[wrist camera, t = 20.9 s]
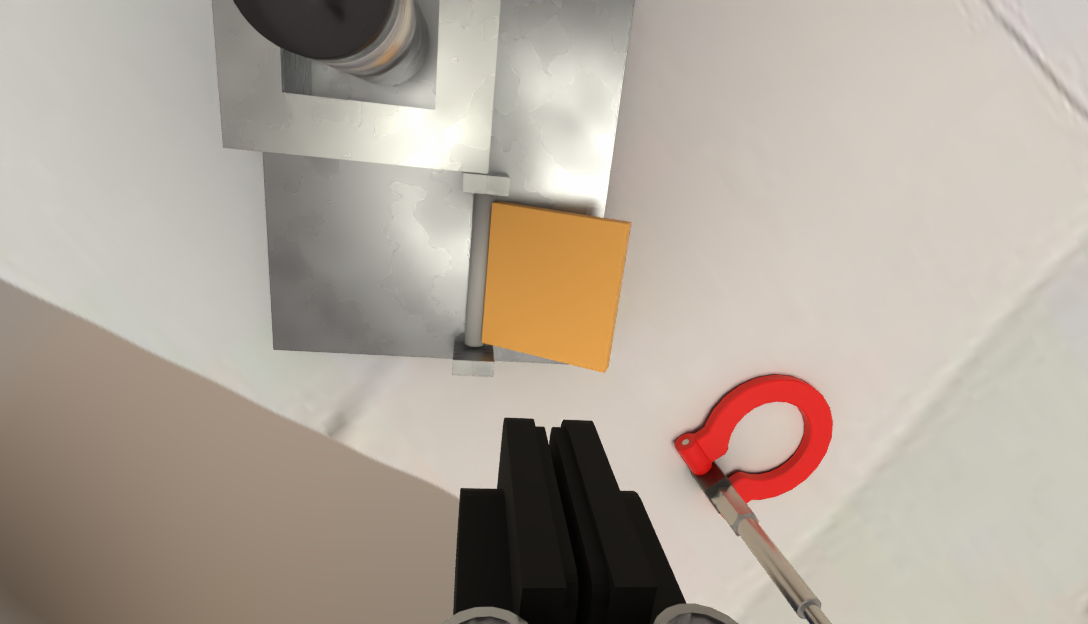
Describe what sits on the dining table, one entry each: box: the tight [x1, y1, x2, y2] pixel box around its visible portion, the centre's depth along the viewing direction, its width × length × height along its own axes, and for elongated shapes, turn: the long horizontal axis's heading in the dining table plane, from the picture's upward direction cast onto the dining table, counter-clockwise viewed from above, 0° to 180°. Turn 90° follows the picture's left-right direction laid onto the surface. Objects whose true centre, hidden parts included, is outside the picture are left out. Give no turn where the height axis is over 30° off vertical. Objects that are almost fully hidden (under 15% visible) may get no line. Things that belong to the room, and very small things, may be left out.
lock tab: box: [464, 193, 631, 373], centre depth 26 cm, size 8×1×8 cm
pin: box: [233, 0, 429, 85], centre depth 18 cm, size 4×4×11 cm
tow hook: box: [675, 374, 833, 624], centre depth 28 cm, size 8×13×9 cm
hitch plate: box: [212, 0, 634, 377], centre depth 24 cm, size 22×16×5 cm
